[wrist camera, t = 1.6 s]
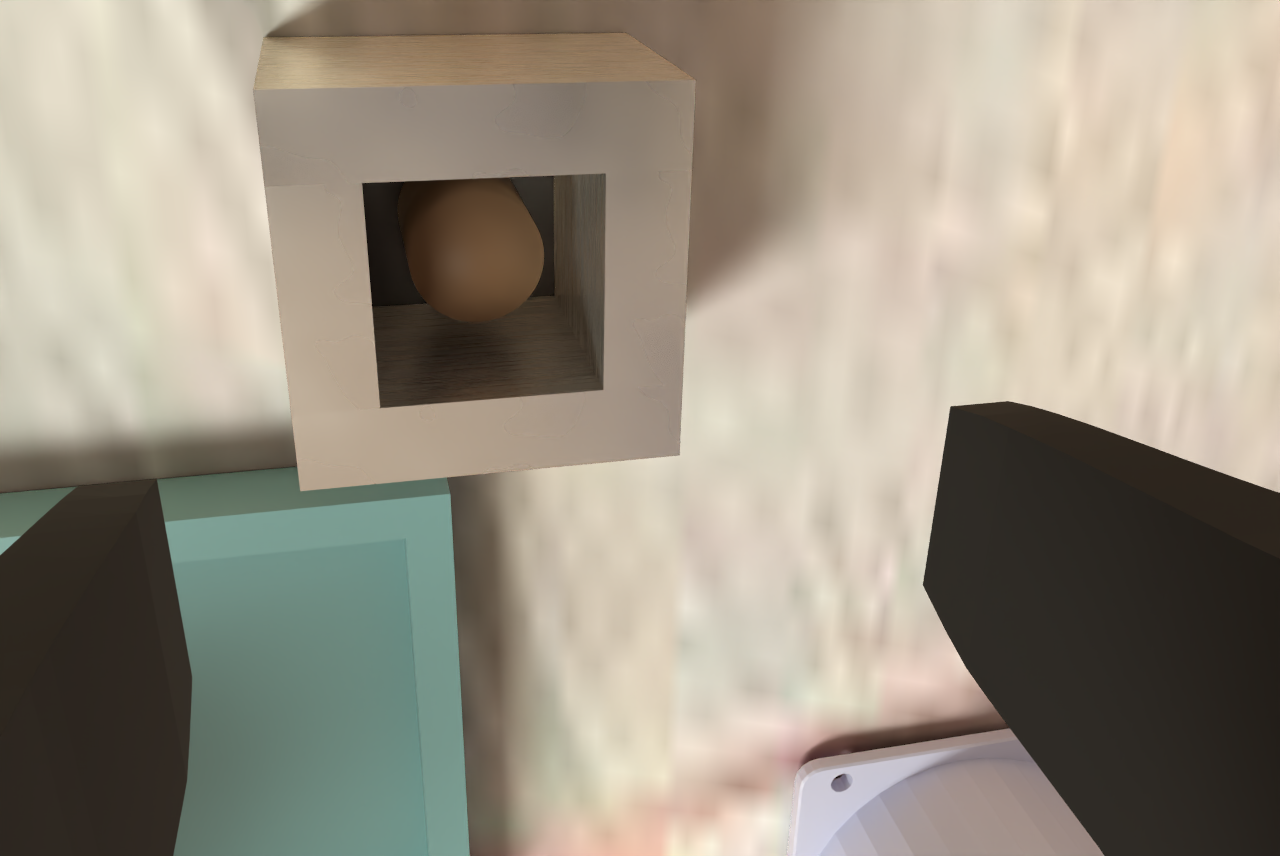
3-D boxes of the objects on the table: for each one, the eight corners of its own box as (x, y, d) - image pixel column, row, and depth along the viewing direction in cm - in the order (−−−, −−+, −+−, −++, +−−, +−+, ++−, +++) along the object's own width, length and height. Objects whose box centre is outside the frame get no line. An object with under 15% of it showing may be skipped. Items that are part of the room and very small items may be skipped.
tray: (441, 453, 22) (450, 494, 21) (466, 891, 27) (474, 945, 25) (-247, 515, 19) (-287, 565, 18) (-81, 985, 24) (-102, 1050, 23)
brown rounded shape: (517, 148, 20) (543, 189, 18) (519, 265, 21) (544, 317, 18) (393, 152, 19) (404, 195, 17) (401, 271, 20) (412, 326, 18)
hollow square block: (626, 32, 19) (696, 80, 16) (620, 354, 22) (679, 455, 18) (263, 37, 18) (252, 90, 15) (301, 377, 21) (300, 491, 17)
